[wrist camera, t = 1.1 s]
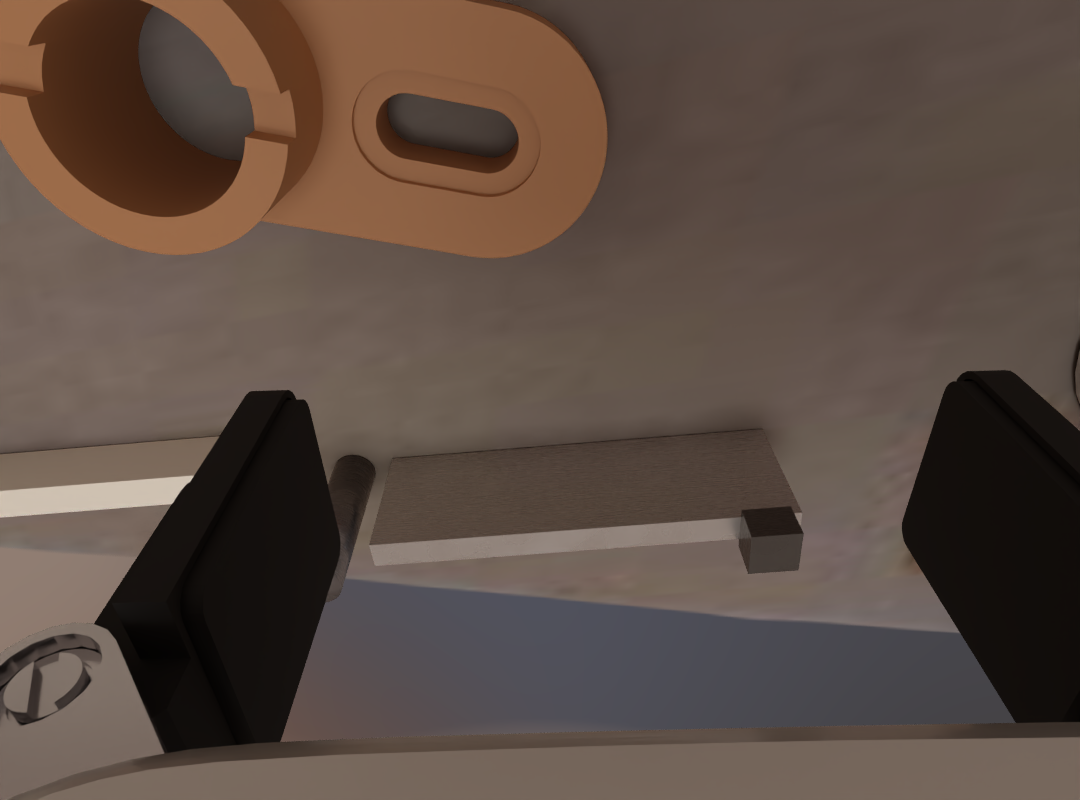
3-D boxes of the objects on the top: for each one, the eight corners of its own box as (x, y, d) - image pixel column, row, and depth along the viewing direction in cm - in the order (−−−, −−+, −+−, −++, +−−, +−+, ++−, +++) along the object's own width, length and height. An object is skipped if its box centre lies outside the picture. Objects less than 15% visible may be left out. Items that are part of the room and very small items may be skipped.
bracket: (121, 170, 28) (12, 229, 22) (89, -85, 23) (-59, -95, 17) (575, 248, 30) (586, 323, 24) (624, 27, 25) (652, 51, 19)
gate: (398, 483, 36) (369, 601, 29) (390, 452, 35) (359, 566, 28) (759, 455, 35) (810, 569, 29) (763, 421, 34) (816, 532, 28)
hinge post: (370, 453, 35) (335, 566, 29) (379, 485, 36) (346, 600, 30) (330, 457, 35) (285, 570, 29) (339, 488, 36) (299, 604, 30)
